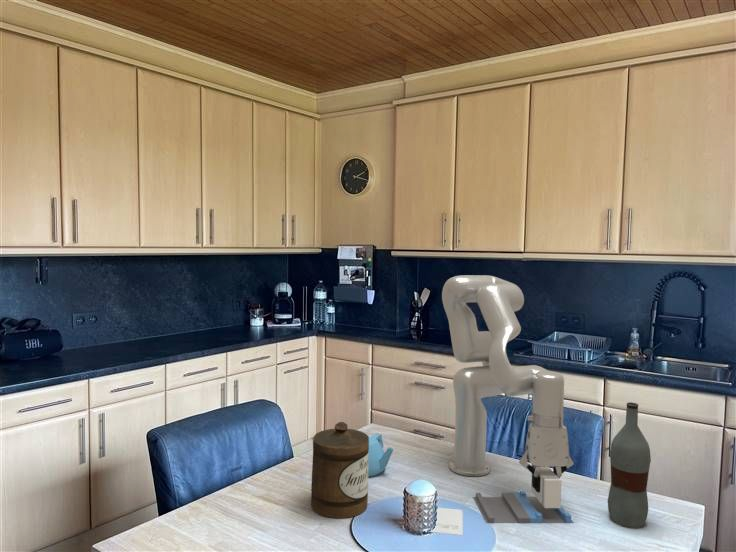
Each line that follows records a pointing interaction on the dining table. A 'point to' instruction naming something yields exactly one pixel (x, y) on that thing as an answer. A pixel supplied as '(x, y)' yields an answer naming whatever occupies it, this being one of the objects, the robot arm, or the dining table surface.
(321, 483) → the wooden container
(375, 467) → the teapot
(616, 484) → the bottle
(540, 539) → the dining table surface
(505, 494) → the board
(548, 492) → the block
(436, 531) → the external hard drive
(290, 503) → the dining table surface
